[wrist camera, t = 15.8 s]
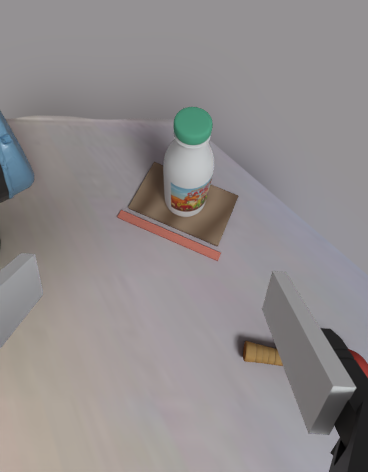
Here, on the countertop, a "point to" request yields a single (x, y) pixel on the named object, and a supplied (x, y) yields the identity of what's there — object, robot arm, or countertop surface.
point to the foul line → (169, 235)
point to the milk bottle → (188, 163)
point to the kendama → (271, 356)
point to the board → (200, 225)
